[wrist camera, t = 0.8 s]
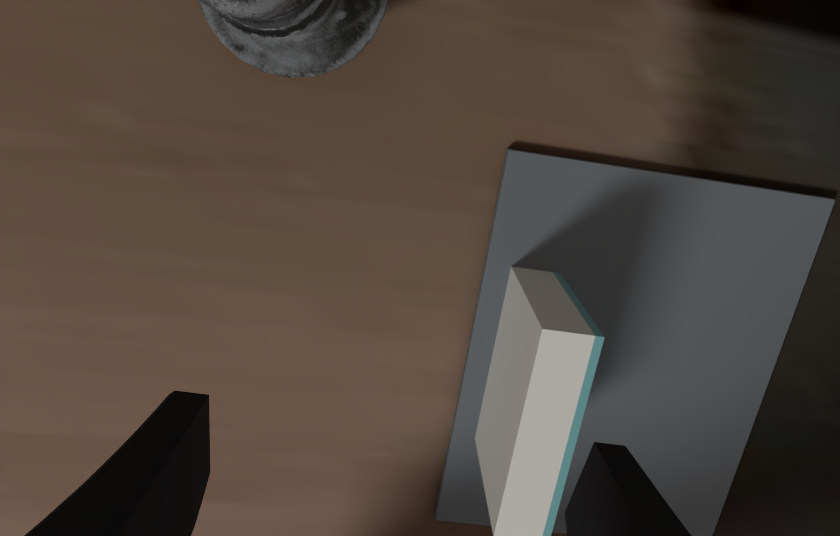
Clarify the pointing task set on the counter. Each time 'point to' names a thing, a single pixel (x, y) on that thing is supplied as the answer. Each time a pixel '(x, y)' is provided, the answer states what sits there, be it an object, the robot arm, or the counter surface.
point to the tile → (534, 401)
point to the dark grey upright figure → (295, 32)
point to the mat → (646, 317)
